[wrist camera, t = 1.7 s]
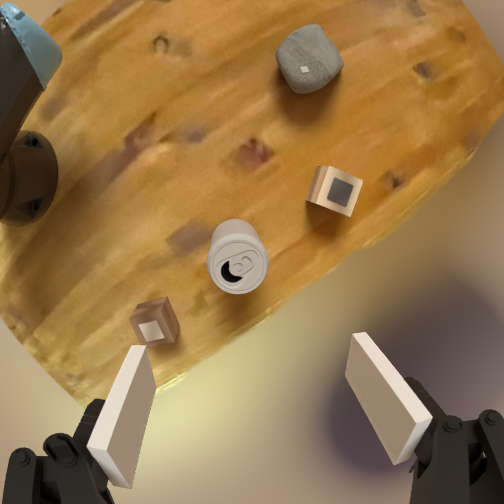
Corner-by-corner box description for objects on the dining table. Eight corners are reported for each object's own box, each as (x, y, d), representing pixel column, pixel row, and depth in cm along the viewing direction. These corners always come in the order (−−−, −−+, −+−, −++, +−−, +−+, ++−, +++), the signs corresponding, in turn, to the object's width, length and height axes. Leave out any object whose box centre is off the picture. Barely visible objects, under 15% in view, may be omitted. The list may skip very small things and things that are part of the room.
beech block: (305, 199, 40) (316, 203, 35) (317, 166, 39) (329, 165, 34) (336, 211, 40) (350, 217, 35) (348, 179, 39) (363, 180, 34)
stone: (355, 77, 35) (356, 68, 27) (305, 102, 40) (292, 101, 32) (323, 29, 33) (314, 10, 25) (275, 56, 37) (254, 44, 29)
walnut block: (151, 331, 43) (143, 349, 38) (138, 304, 42) (128, 320, 37) (179, 324, 43) (174, 342, 38) (167, 296, 42) (160, 311, 37)
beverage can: (202, 237, 40) (192, 263, 28) (239, 208, 39) (244, 222, 28) (231, 272, 41) (232, 309, 30) (267, 244, 41) (283, 272, 29)
